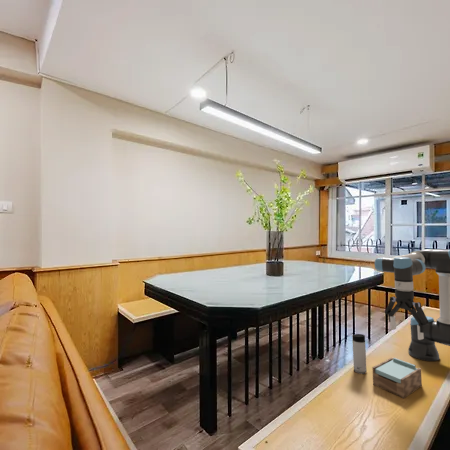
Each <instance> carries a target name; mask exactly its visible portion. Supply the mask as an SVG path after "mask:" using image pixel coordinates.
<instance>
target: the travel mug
mask: <svg viewBox="0 0 450 450" xmlns="http://www.w3.org/2000/svg"><path fill="white" fill-rule="evenodd" d="M366 350H367V349H366V335H364V334H361V333H356V334H352V353H353V354H352V358H353V359H352V360H353V362H352V363H353V371H354V372H355V373H356V374H360V375H361V374H362V375H363V374H366V373H368V372H367V355H366V354H367V351H366Z"/></svg>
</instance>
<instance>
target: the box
mask: <svg viewBox="0 0 450 450" xmlns="http://www.w3.org/2000/svg"><path fill="white" fill-rule="evenodd" d="M393 358H394V357H390V358H388V359H386V360H384V361H382V362H380V363H378V364H375V366H372V367H371V368H372V385H373V386H375V387H377V388H379V389H381V390H384V391H386V392H388V393H390V394H393V395H395V396H397V397H399V398H401V399H403V400H404V399H405V398H407V397H408V396H410V395H411V394H412V393H414V392H415V391H417V390H418V389H419V388H421V387H422V385H423V384H422V368H421V367H417V369H416V370H415V371H413V372H411V373H410V374H408V375H407V376H405V377H403V378H402V379H401V384H400V383H398V382H395V381H393V380H391V379H388V378H386V377H384V376H381V375H379V374H376V373H375V369H376V368H378V367H380V366H382V365H384V364H386V363H388V362H389V361H391V360H393Z"/></svg>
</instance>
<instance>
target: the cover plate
mask: <svg viewBox="0 0 450 450" xmlns="http://www.w3.org/2000/svg"><path fill="white" fill-rule="evenodd" d="M392 358H393V360H391V361H389V362H388V363H386V364H384V365H382V366H380V367H378V368H376V369H375V373H376V374H379V375H381V376H384V377H386V378H388V379H391V380H393V381H395V382H398V383H400V384H401V379H402V378H403V377H405V376H407V375H408V374H410V373H411V372H413V371H415V370H416V369H418V367H416V364H413V363H411V362H408V361H405V360H402V359H399V358H398V357H397V358H396V357H392Z"/></svg>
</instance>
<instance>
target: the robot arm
mask: <svg viewBox="0 0 450 450" xmlns="http://www.w3.org/2000/svg"><path fill="white" fill-rule="evenodd" d="M374 268H375V270H376V271H378V272H382V273H392V274H393V275H394V276H393V277H394V289H395V290H394V296H390V297H389V302H388V304H387V306H386V308H385V311H384V314H385V315H388V320H389V323H390V330H392V331H395V330H396V329H397V325H396V324H397V323H396V313H397V312H398V311H399V310H400V309H403V310H405V311H408V312H409V313H410V314H411V316H412V317H411V318H410V322H409V323H410V324H409V325H410V339H411V340H410V343H409V346H408V350H407V351H408V354H409V355H410V356H411V357H413V358H415V359H418V360H422V361H427V362H437V361H439V360H440V353H439V351H438V349H437V347H436V343H437V344H441V345H444V346H448V347H450V249H438V248H437V249H436V248H433V249H432V248H428V249H427V248H426V249H420V250H414V251H411V252H410V253H408V254H403V255H397V256H396V255H395V256H391V257H377V258H376V259H375V260H374ZM426 269H432V270H435V273H436V274H437V275H438V287H439V288H438V290H439V291H438V292H439V294H438V295H439V297H438V298H439V317H438V318H437V319H436V321H435V319H434V317H431V316H427V315H426V314H425V311H424V310H423V307H422V303H421V302H419V301H418V302H416V301H414V299H415V298H414V297H415V295H414V294H415V293H414V292H415V291H414V278H413V277H414V276H417V275H421V274H422V273H424V272H425V270H426Z"/></svg>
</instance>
